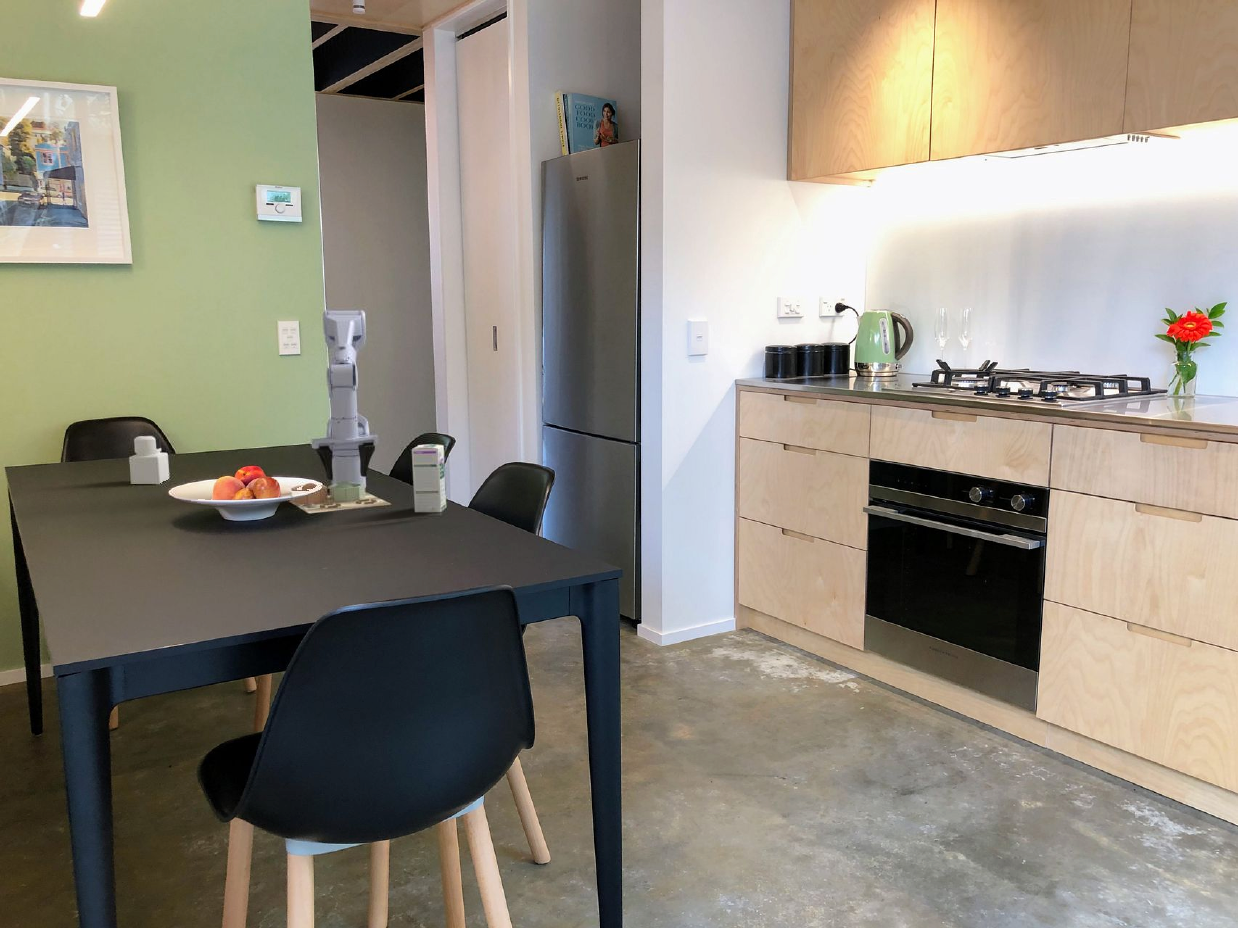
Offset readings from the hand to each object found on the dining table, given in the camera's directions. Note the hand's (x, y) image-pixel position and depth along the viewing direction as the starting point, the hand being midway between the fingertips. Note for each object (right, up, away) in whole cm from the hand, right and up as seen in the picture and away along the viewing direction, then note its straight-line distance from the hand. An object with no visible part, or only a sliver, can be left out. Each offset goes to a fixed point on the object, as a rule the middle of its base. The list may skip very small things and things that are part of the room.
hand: (346, 477), depth 219 cm
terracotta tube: (-8, -6, -2) cm, 10 cm away
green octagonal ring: (0, -6, +1) cm, 6 cm away
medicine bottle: (-58, -2, +28) cm, 64 cm away
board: (-1, -6, -3) cm, 7 cm away
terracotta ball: (-8, -5, -2) cm, 9 cm away
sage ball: (0, -5, +1) cm, 5 cm away
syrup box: (+21, -8, -12) cm, 25 cm away
